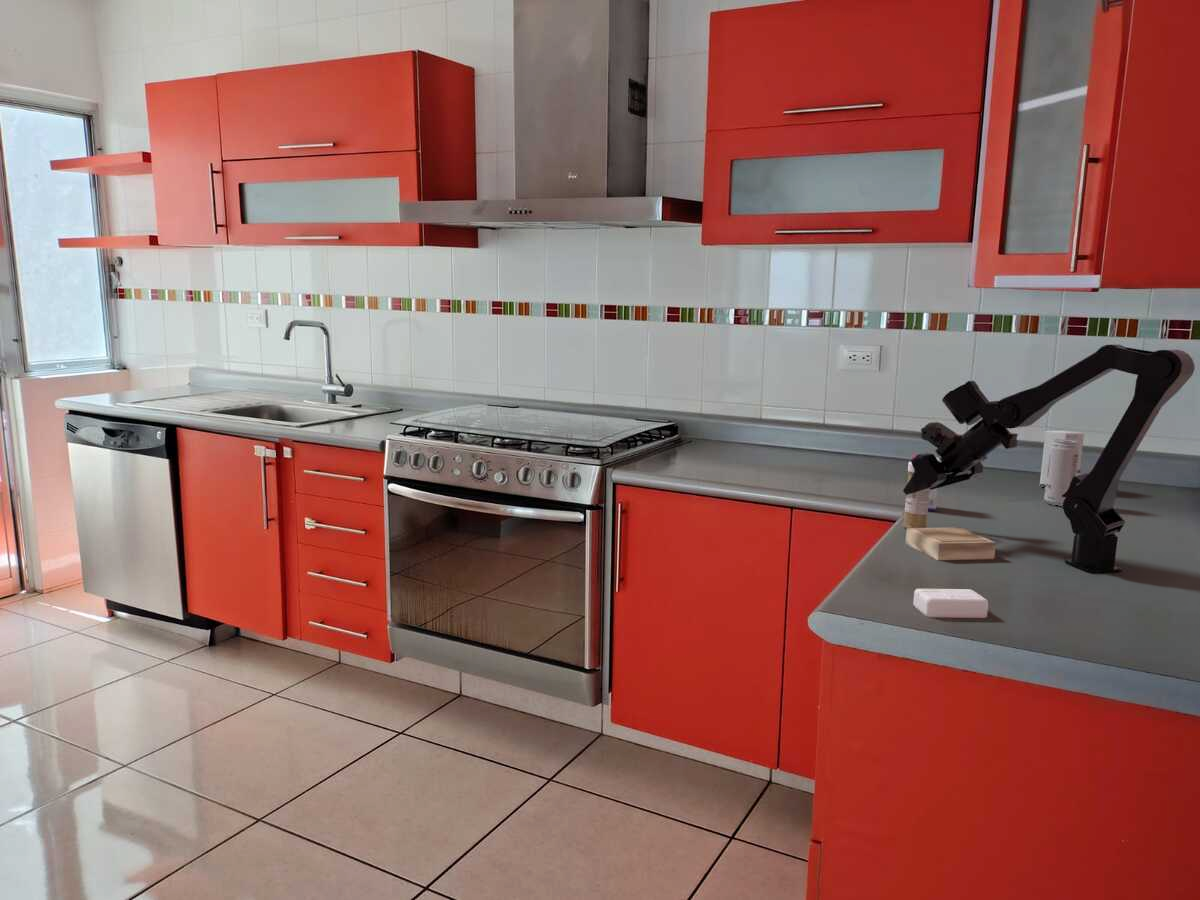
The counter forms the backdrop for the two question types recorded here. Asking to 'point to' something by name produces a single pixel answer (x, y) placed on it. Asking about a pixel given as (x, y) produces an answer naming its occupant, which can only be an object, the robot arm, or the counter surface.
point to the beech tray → (950, 543)
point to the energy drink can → (1060, 469)
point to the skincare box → (1048, 441)
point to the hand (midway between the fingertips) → (917, 490)
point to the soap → (950, 603)
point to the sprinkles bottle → (916, 506)
